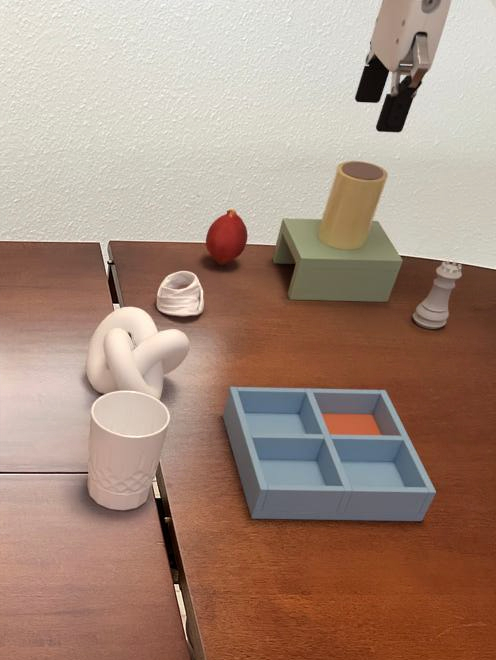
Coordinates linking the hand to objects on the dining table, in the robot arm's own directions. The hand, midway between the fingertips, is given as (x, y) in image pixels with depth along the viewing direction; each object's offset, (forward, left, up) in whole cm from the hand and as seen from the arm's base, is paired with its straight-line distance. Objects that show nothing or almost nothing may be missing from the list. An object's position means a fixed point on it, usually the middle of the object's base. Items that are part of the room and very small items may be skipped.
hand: (377, 116), depth 112 cm
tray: (+12, +43, -22) cm, 50 cm away
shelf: (0, 0, -22) cm, 22 cm away
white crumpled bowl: (+23, +9, -22) cm, 33 cm away
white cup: (+35, +48, -22) cm, 63 cm away
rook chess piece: (-12, +11, -22) cm, 27 cm away
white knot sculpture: (+32, +30, -22) cm, 49 cm away
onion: (+15, -4, -22) cm, 27 cm away
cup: (0, 0, -16) cm, 16 cm away
